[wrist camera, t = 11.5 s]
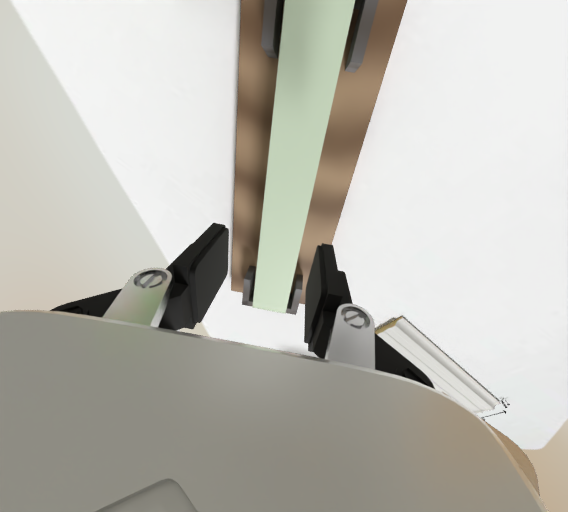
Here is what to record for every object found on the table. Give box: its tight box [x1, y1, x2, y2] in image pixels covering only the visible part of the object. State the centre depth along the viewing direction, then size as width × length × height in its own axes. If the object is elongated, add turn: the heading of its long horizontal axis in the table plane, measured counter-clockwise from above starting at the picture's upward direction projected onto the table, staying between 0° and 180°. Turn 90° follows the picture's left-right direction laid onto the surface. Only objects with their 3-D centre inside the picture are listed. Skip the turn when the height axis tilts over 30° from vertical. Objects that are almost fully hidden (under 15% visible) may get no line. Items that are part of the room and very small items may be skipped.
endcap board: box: [231, 0, 407, 315], centre depth 23 cm, size 31×12×4 cm, turn 171°
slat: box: [253, 0, 355, 313], centre depth 21 cm, size 26×4×5 cm, turn 171°
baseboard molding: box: [375, 317, 510, 421], centre depth 38 cm, size 31×3×12 cm
